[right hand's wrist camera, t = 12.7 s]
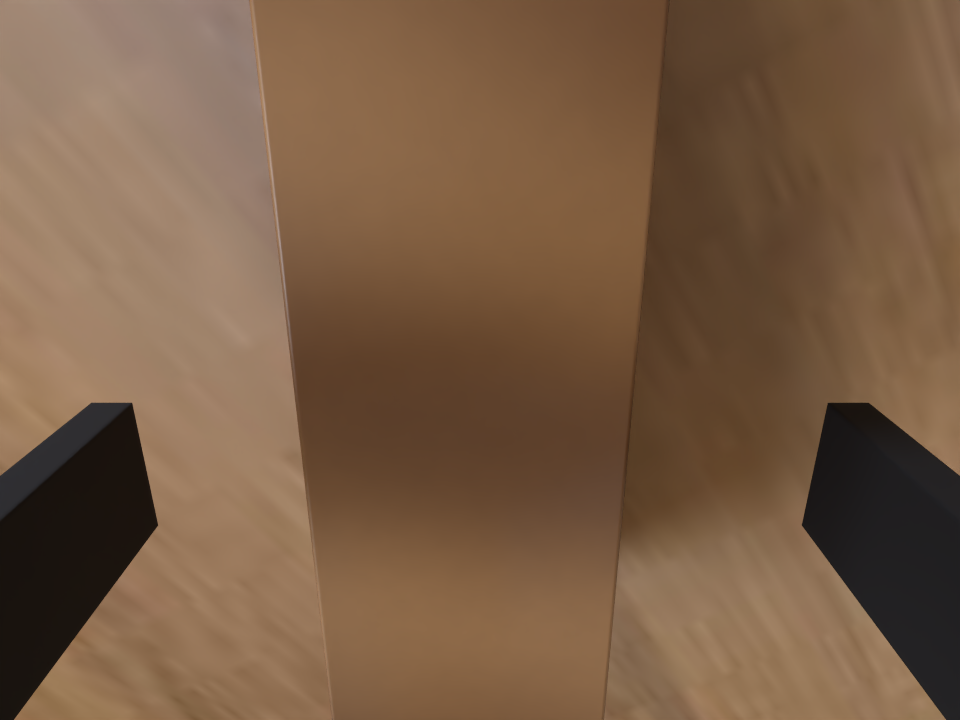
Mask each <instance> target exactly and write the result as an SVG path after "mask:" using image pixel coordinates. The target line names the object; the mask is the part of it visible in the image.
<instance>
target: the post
mask: <svg viewBox="0 0 960 720" xmlns="http://www.w3.org/2000/svg"><path fill="white" fill-rule="evenodd" d="M249 2H250V11H251V20H252V29H253V37H254V46H255V55H256V63H257V72H258V81H259V89H260V98H261V107H262V115H263V124H264V133H265V141H266V150H267V159H268V168H269V176H270V185H271V194H272V202H273V211H274V220H275V228H276V237H277V246H278V254H279V263H280V272H281V280H282V289H283V298H284V307H285V315H286V324H287V333H288V341H289V350H290V359H291V367H292V376H293V385H294V393H295V402H296V411H297V419H298V428H299V437H300V446H301V454H302V463H303V472H304V480H305V489H306V498H307V506H308V515H309V524H310V532H311V541H312V550H313V558H314V567H315V576H316V585H317V593H318V602H319V611H320V619H321V628H322V637H323V645H324V654H325V663H326V671H327V680H328V689H329V697H330V706H331V715H332V720H604V713H605V702H606V691H607V680H608V669H609V658H610V647H611V636H612V625H613V614H614V603H615V592H616V581H617V570H618V559H619V548H620V537H621V526H622V515H623V504H624V493H625V482H626V471H627V460H628V449H629V438H630V427H631V416H632V405H633V394H634V383H635V372H636V361H637V350H638V339H639V328H640V317H641V306H642V295H643V284H644V273H645V262H646V251H647V240H648V229H649V218H650V207H651V196H652V185H653V174H654V163H655V152H656V141H657V130H658V119H659V108H660V97H661V86H662V75H663V64H664V53H665V42H666V31H667V20H668V9H669V0H249Z"/></svg>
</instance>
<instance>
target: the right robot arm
mask: <svg viewBox="0 0 960 720" xmlns="http://www.w3.org/2000/svg"><path fill="white" fill-rule="evenodd" d="M157 526H158V523H157V518H156V513H155V509H154V504H153V499H152V494H151V490H150V485H149V480H148V476H147V471H146V466H145V461H144V457H143V452H142V447H141V443H140V438H139V433H138V428H137V424H136V419H135V414H134V410H133V405H132V403H91V404H89V405H88V406H87V407H86V408H84V409H83V410H82V411H81V412H79V413H78V414H77V415H76V416H74V417H73V418H72V419H71V420H69V421H68V422H67V423H66V424H64V425H63V426H62V427H61V428H60V429H58V430H57V431H56V432H55V433H53V434H52V435H51V436H50V437H48V438H47V439H46V440H45V441H43V442H42V443H41V444H40V445H38V446H37V447H36V448H35V449H33V450H32V451H31V452H30V453H28V454H27V455H26V456H25V457H23V458H22V459H21V460H20V461H18V462H17V463H16V464H15V465H13V466H12V467H11V468H10V469H8V470H7V471H6V472H5V473H3V474H2V475H1V476H0V720H14V719H15V717H16V716H17V715H18V713H19V712H20V711H21V709H22V708H23V707H24V705H25V704H26V703H27V701H28V700H29V699H30V697H31V696H32V694H33V693H34V692H35V690H36V689H37V688H38V686H39V685H40V684H41V682H42V681H43V680H44V678H45V677H46V676H47V674H48V673H49V672H50V670H51V669H52V668H53V666H54V665H55V664H56V662H57V661H58V659H59V658H60V657H61V655H62V654H63V653H64V651H65V650H66V649H67V647H68V646H69V645H70V643H71V642H72V641H73V639H74V638H75V637H76V635H77V634H78V633H79V631H80V630H81V628H82V627H83V626H84V624H85V623H86V622H87V620H88V619H89V618H90V616H91V615H92V614H93V612H94V611H95V610H96V608H97V607H98V606H99V604H100V603H101V602H102V600H103V599H104V597H105V596H106V595H107V593H108V592H109V591H110V589H111V588H112V587H113V585H114V584H115V583H116V581H117V580H118V579H119V577H120V576H121V575H122V573H123V572H124V571H125V569H126V568H127V566H128V565H129V564H130V562H131V561H132V560H133V558H134V557H135V556H136V554H137V553H138V552H139V550H140V549H141V548H142V546H143V545H144V544H145V542H146V541H147V540H148V538H149V537H150V535H151V534H152V533H153V531H154V530H155V529H156V527H157ZM802 526H803V527H804V529H805V530H806V531H807V533H808V534H809V535H810V537H811V538H812V540H813V541H814V542H815V544H816V545H817V546H818V548H819V549H820V550H821V552H822V553H823V554H824V556H825V557H826V558H827V560H828V561H829V562H830V564H831V565H832V566H833V568H834V569H835V571H836V572H837V573H838V575H839V576H840V577H841V579H842V580H843V581H844V583H845V584H846V585H847V587H848V588H849V589H850V591H851V592H852V593H853V595H854V596H855V597H856V599H857V600H858V602H859V603H860V604H861V606H862V607H863V608H864V610H865V611H866V612H867V614H868V615H869V616H870V618H871V619H872V620H873V622H874V623H875V624H876V626H877V627H878V628H879V630H880V631H881V633H882V634H883V635H884V637H885V638H886V639H887V641H888V642H889V643H890V645H891V646H892V647H893V649H894V650H895V651H896V653H897V654H898V655H899V657H900V658H901V659H902V661H903V662H904V664H905V665H906V666H907V668H908V669H909V670H910V672H911V673H912V674H913V676H914V677H915V678H916V680H917V681H918V682H919V684H920V685H921V686H922V688H923V689H924V690H925V692H926V693H927V694H928V696H929V697H930V699H931V700H932V701H933V703H934V704H935V705H936V707H937V708H938V709H939V711H940V712H941V713H942V715H943V716H944V717H945V719H946V720H960V476H959V475H958V474H957V473H955V472H954V471H953V470H952V469H950V468H949V467H948V466H947V465H945V464H944V463H943V462H942V461H940V460H939V459H938V458H937V457H935V456H934V455H933V454H932V453H930V452H929V451H928V450H927V449H925V448H924V447H923V446H922V445H920V444H919V443H918V442H917V441H915V440H914V439H913V438H912V437H910V436H909V435H908V434H907V433H905V432H904V431H903V430H902V429H900V428H899V427H898V426H897V425H896V424H894V423H893V422H892V421H891V420H889V419H888V418H887V417H886V416H884V415H883V414H882V413H881V412H879V411H878V410H877V409H876V408H874V407H873V406H872V405H871V404H869V403H828V405H827V410H826V414H825V419H824V424H823V428H822V433H821V438H820V443H819V447H818V452H817V457H816V461H815V466H814V471H813V476H812V480H811V485H810V490H809V494H808V499H807V504H806V509H805V513H804V518H803V523H802Z"/></svg>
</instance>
